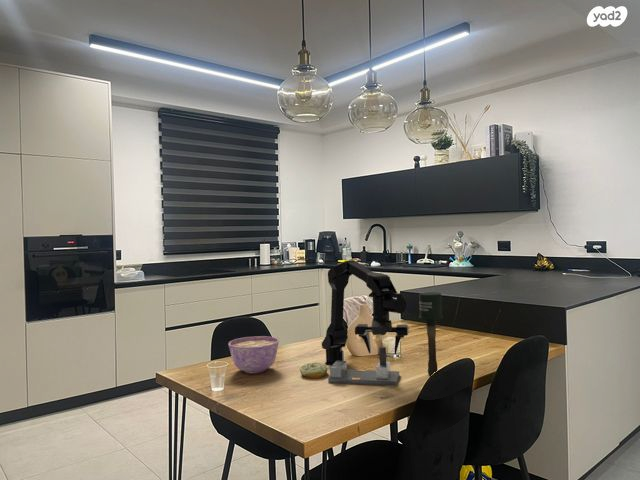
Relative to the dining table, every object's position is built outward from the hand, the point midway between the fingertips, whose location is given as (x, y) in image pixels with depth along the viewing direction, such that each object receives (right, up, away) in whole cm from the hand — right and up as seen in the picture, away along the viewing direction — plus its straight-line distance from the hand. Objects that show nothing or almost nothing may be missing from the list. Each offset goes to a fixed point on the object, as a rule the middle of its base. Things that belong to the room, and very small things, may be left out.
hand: (382, 353), depth 170 cm
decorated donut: (-25, -11, +10) cm, 29 cm away
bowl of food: (-48, -11, +19) cm, 53 cm away
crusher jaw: (0, -8, 0) cm, 8 cm away
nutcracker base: (-6, -10, +2) cm, 12 cm away
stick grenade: (+19, -9, +3) cm, 21 cm away
